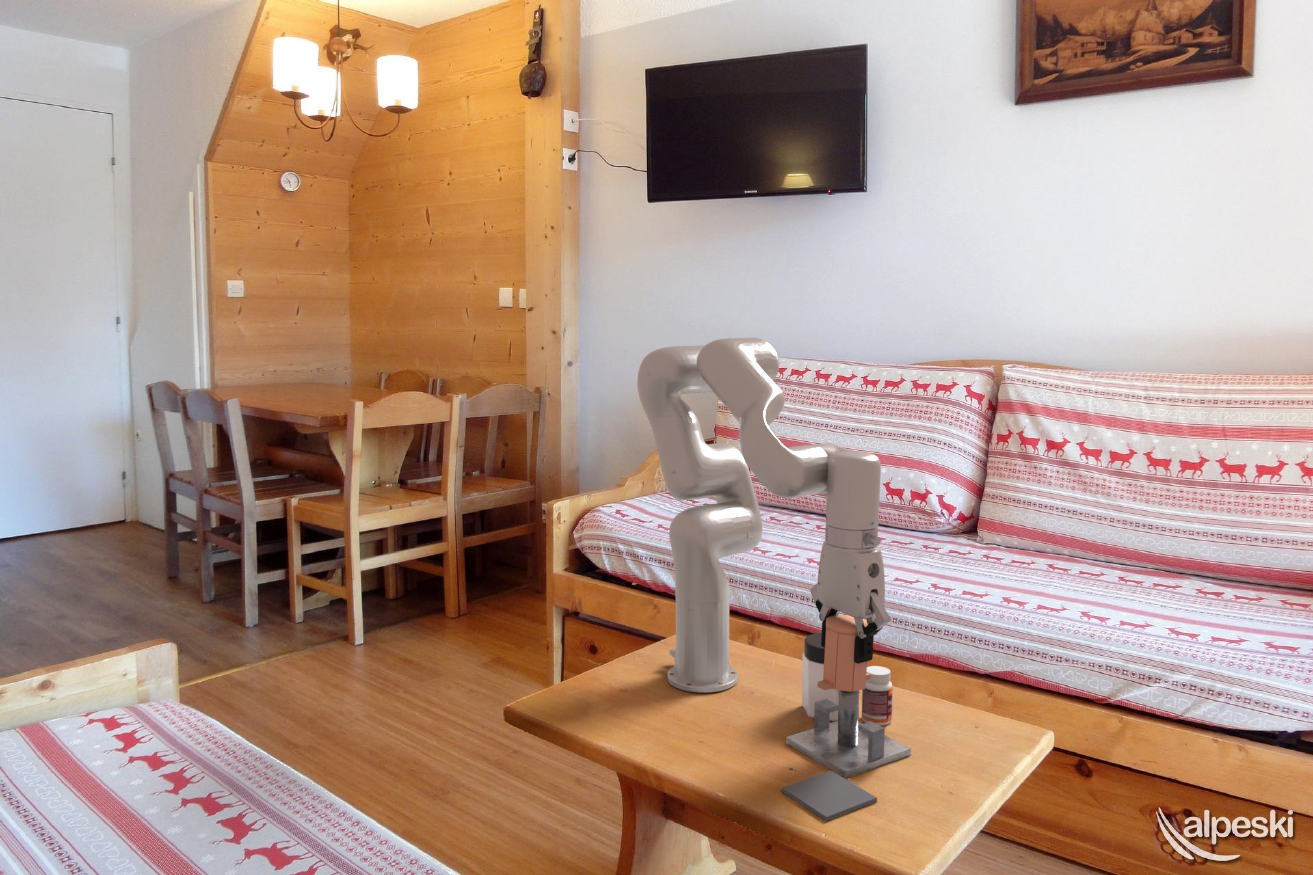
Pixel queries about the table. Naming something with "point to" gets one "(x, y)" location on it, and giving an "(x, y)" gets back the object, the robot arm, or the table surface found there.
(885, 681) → the pill bottle
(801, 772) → the table surface
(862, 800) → the coaster
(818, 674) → the jar
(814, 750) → the pegged base plate
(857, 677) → the salmon domed faceted piece
